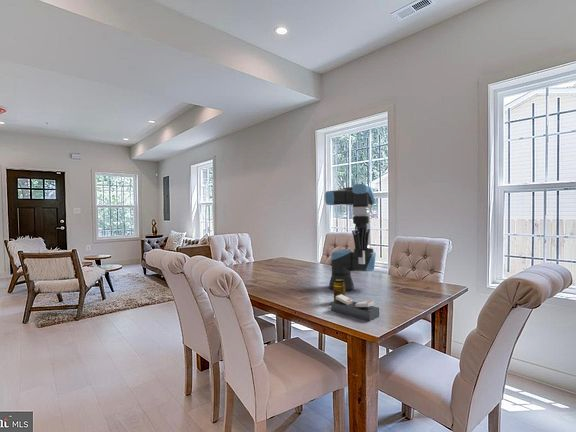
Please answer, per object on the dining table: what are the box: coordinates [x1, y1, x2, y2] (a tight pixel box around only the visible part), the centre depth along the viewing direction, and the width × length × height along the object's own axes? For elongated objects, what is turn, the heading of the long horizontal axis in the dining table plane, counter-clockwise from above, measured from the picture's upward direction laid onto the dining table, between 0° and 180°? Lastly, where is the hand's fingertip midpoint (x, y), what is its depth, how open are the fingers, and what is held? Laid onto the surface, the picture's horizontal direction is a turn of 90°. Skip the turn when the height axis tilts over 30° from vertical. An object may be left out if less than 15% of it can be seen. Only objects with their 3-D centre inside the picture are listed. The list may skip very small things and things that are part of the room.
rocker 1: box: [336, 294, 354, 305], centre depth 146 cm, size 7×4×2 cm, turn 44°
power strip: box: [329, 300, 380, 322], centre depth 143 cm, size 25×8×5 cm, turn 44°
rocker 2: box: [355, 300, 375, 307], centre depth 138 cm, size 7×4×2 cm, turn 44°
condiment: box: [333, 279, 346, 301], centre depth 160 cm, size 7×8×12 cm
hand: (361, 263), depth 149 cm, fingers closed
